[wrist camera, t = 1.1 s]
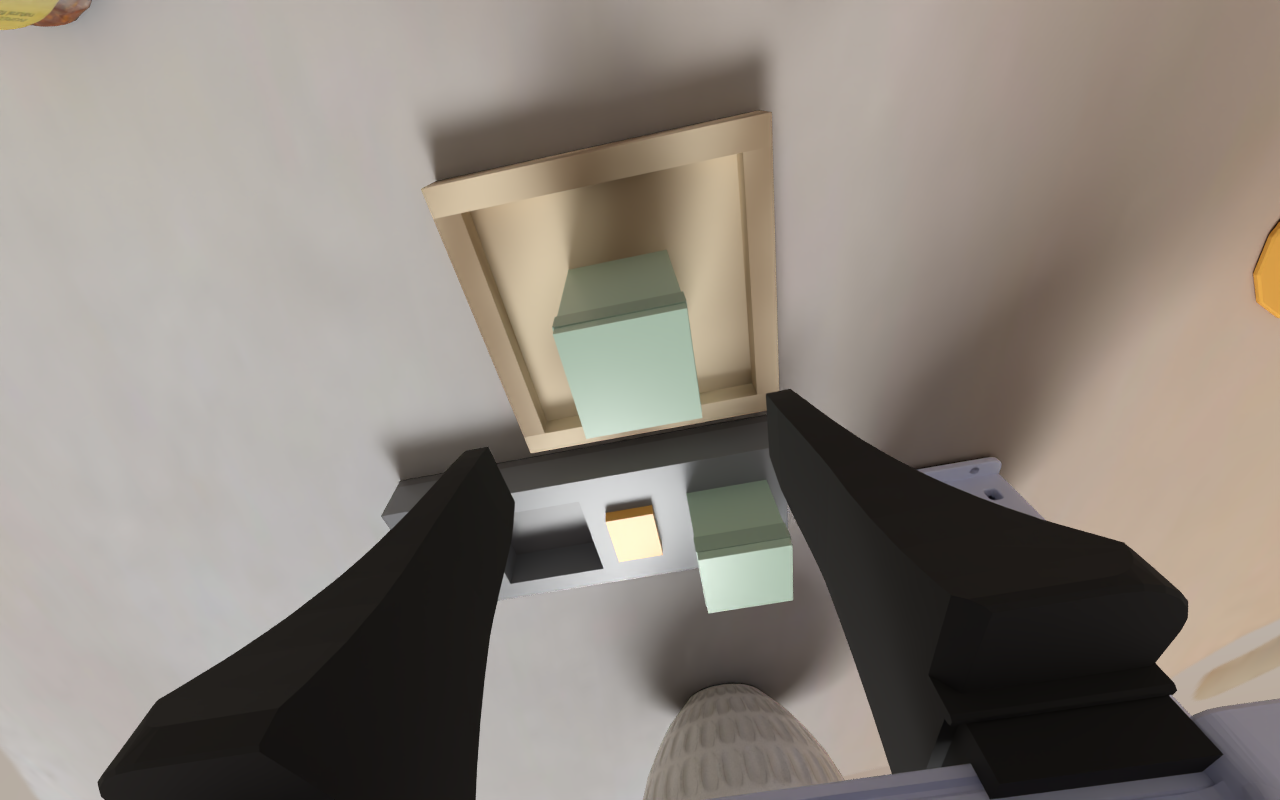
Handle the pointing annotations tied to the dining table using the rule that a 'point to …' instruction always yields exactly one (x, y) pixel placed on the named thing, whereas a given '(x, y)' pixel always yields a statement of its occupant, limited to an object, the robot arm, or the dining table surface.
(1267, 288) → the cup
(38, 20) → the sauce bottle
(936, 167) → the dining table surface
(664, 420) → the plug
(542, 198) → the tray
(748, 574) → the gray fixture base
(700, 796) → the vase
